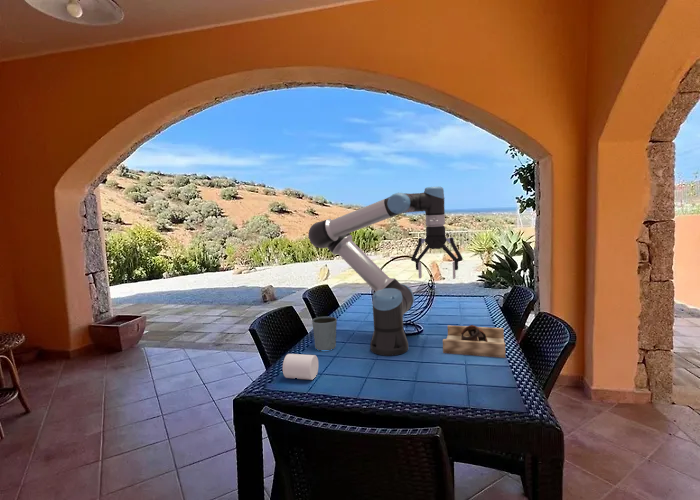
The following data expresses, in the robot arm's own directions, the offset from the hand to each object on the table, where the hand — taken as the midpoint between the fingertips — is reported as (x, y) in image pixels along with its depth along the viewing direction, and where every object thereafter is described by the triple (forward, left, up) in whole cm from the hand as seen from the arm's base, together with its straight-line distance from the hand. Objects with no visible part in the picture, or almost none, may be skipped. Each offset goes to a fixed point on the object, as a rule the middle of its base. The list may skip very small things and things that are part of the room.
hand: (437, 278), depth 153 cm
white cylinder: (-41, -42, -27) cm, 65 cm away
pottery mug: (+14, -2, -26) cm, 29 cm away
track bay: (+14, -2, -27) cm, 30 cm away
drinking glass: (-44, -16, -27) cm, 54 cm away
